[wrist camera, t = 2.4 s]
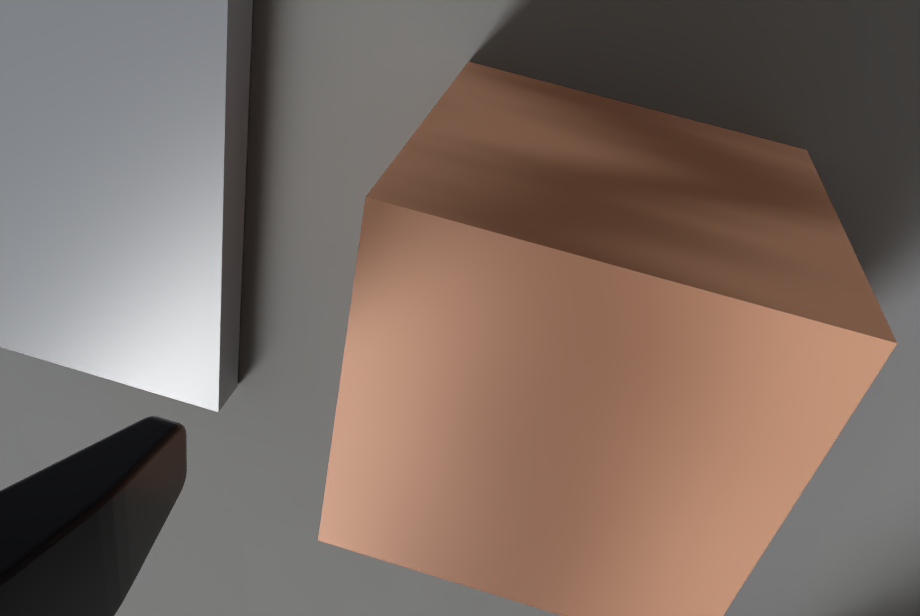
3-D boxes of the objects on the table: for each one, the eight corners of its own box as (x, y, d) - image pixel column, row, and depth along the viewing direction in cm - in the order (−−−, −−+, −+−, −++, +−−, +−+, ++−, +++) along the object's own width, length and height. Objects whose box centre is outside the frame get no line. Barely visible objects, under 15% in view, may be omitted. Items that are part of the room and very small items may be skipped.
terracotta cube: (805, 148, 13) (897, 343, 8) (683, 407, 17) (696, 656, 12) (469, 60, 14) (365, 196, 9) (415, 330, 17) (317, 539, 12)
